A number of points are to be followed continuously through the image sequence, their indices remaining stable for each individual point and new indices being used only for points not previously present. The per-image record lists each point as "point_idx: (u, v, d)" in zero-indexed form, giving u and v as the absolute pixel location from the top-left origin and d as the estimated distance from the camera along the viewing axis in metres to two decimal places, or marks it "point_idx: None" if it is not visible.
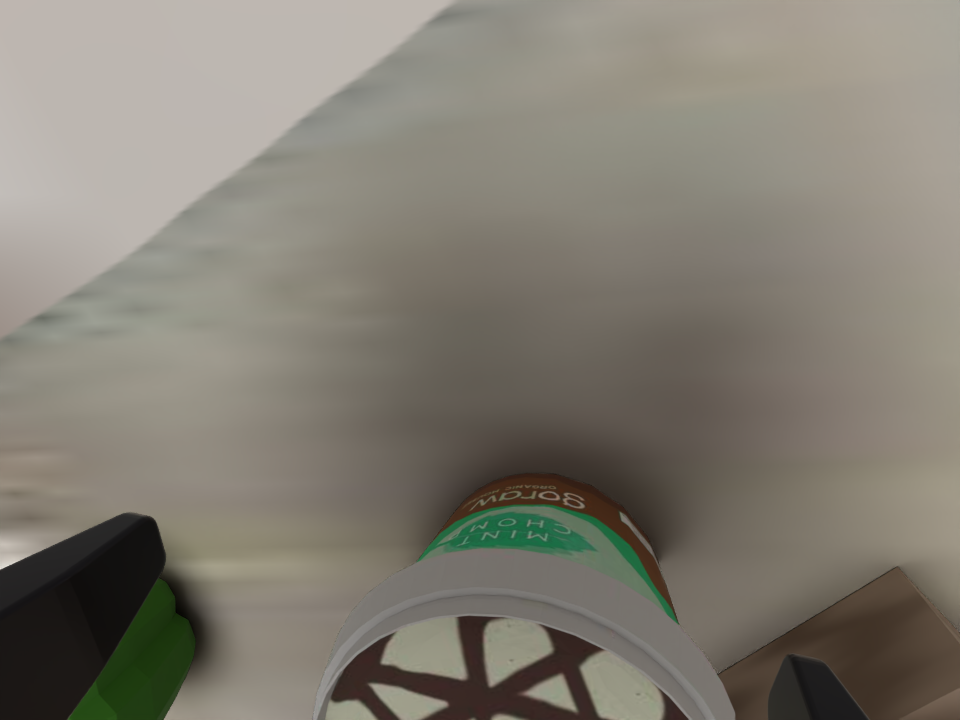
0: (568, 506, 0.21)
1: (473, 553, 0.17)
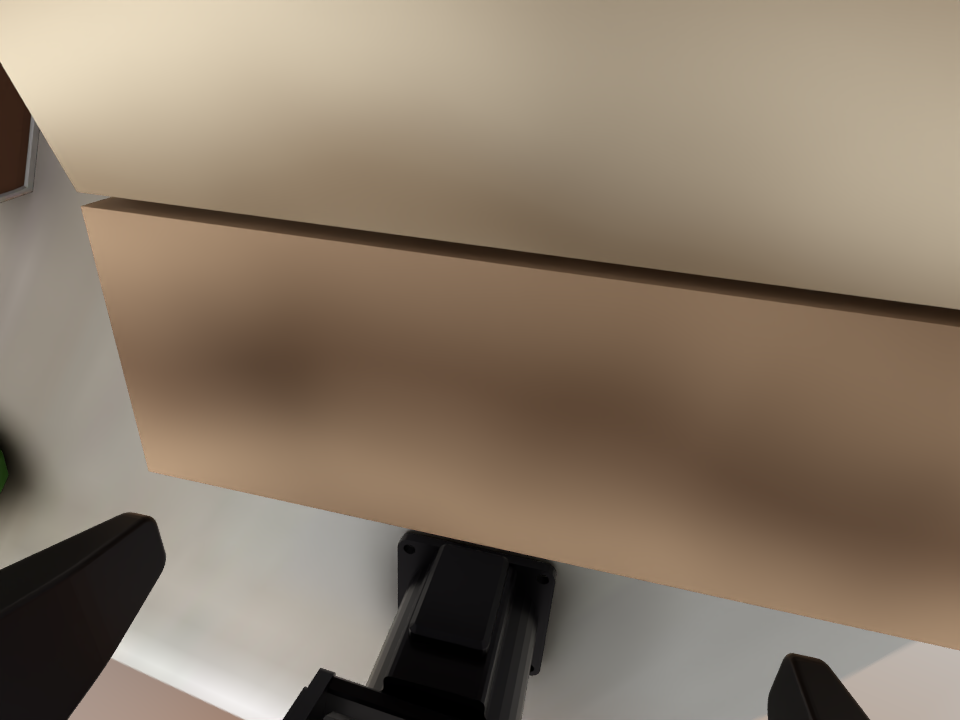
0: None
1: None
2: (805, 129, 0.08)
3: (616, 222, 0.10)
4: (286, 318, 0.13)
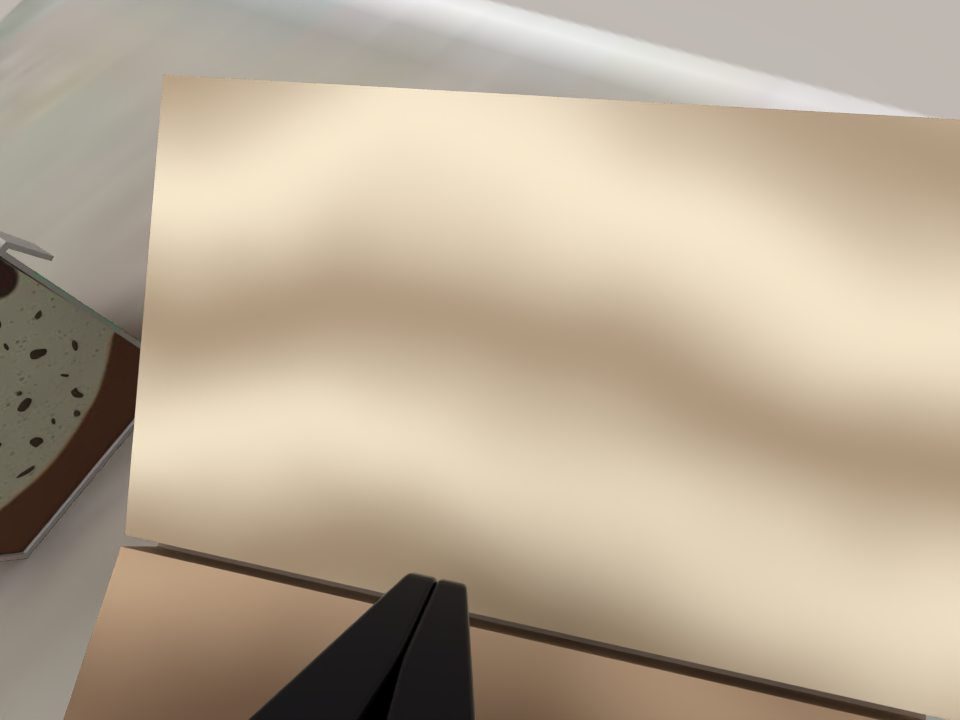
0: None
1: None
2: (658, 532, 0.13)
3: (543, 591, 0.14)
4: (257, 663, 0.15)
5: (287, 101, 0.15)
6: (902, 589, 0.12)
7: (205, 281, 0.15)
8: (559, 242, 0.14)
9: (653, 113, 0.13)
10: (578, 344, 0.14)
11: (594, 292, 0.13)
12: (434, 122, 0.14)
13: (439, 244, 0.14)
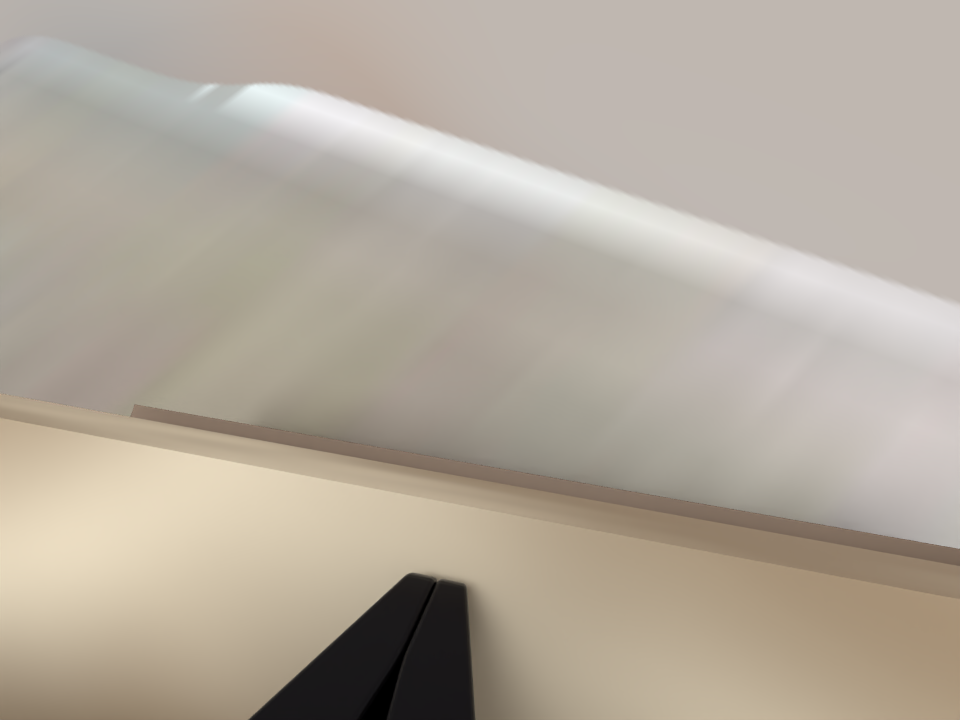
0: None
1: None
2: None
3: None
4: None
5: (58, 457, 0.10)
6: None
7: None
8: None
9: (599, 548, 0.08)
10: None
11: None
12: (267, 516, 0.09)
13: None
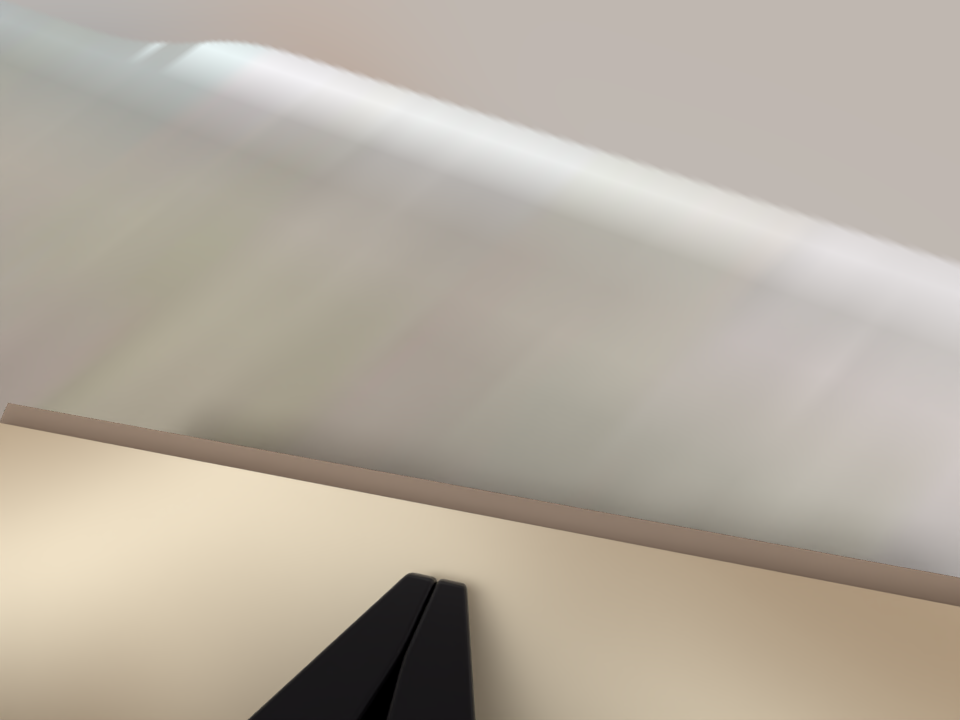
0: None
1: None
2: None
3: None
4: None
5: (79, 466, 0.10)
6: None
7: None
8: None
9: (596, 554, 0.09)
10: None
11: None
12: (276, 524, 0.09)
13: None
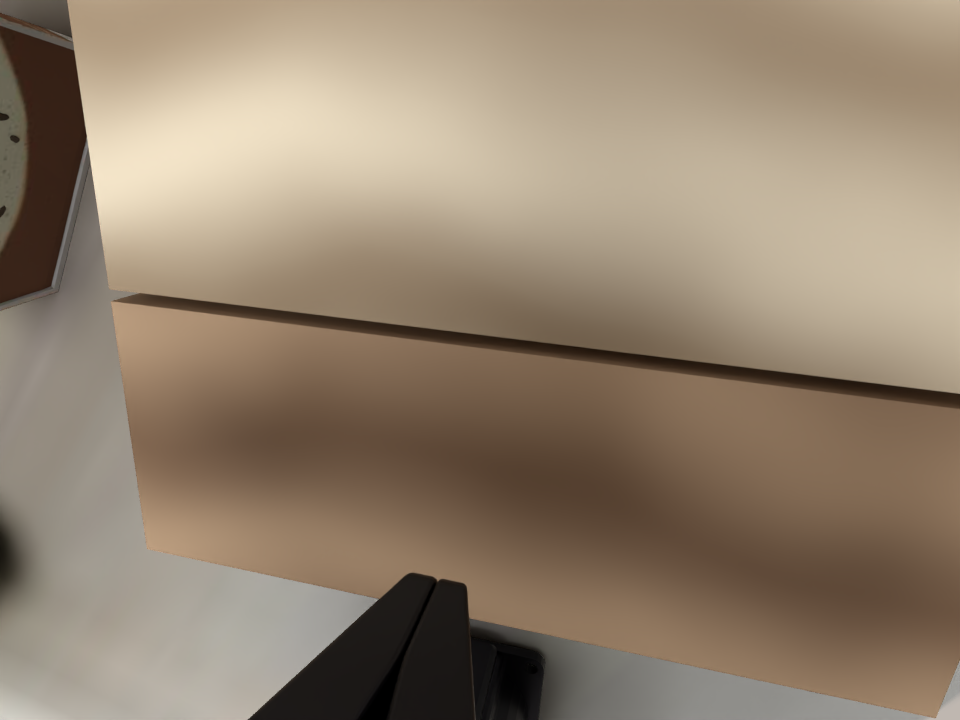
0: None
1: None
2: (713, 219, 0.11)
3: (575, 304, 0.12)
4: (287, 398, 0.14)
5: None
6: None
7: None
8: None
9: None
10: None
11: None
12: None
13: None
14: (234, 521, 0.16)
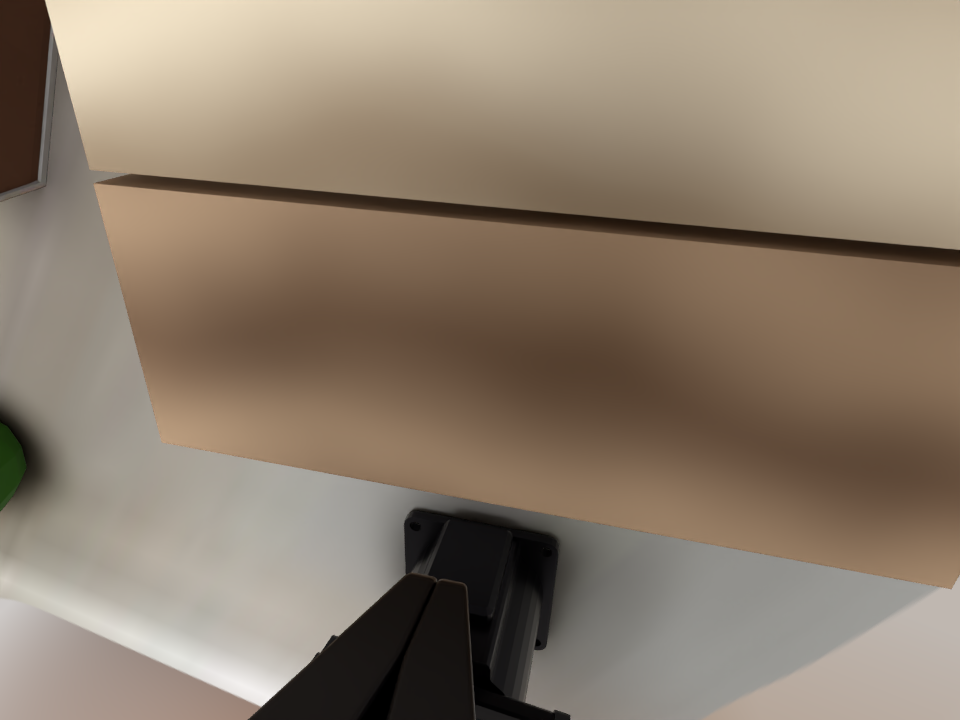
0: None
1: None
2: (755, 59, 0.10)
3: (595, 168, 0.11)
4: (288, 284, 0.14)
5: None
6: None
7: None
8: None
9: None
10: None
11: None
12: None
13: None
14: (245, 413, 0.16)
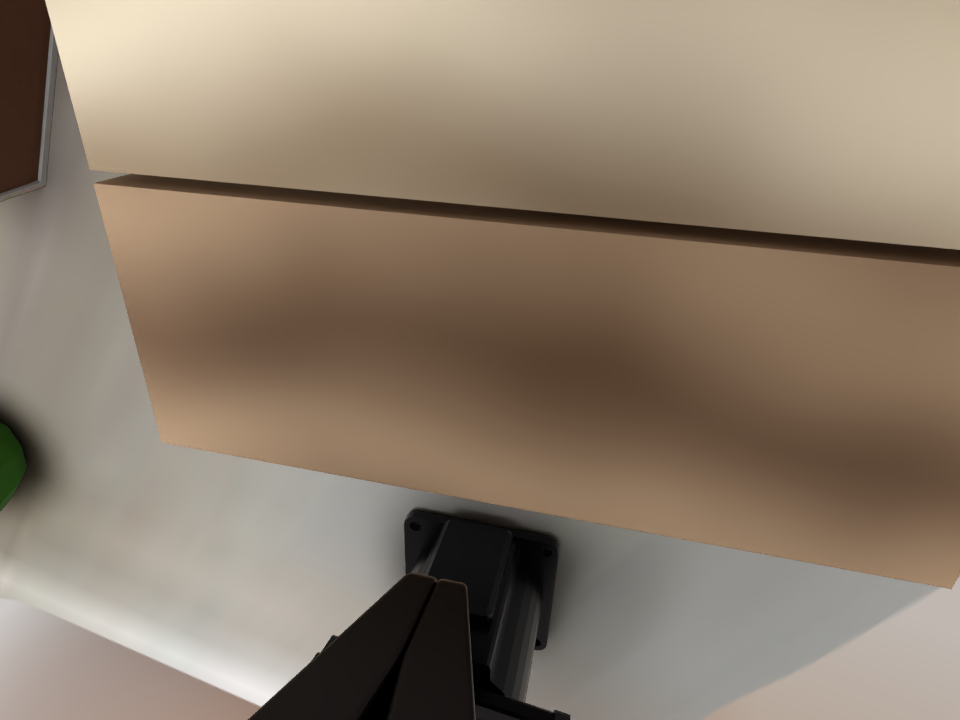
0: None
1: None
2: (755, 59, 0.10)
3: (595, 168, 0.11)
4: (288, 284, 0.14)
5: None
6: None
7: None
8: None
9: None
10: None
11: None
12: None
13: None
14: (245, 413, 0.16)
